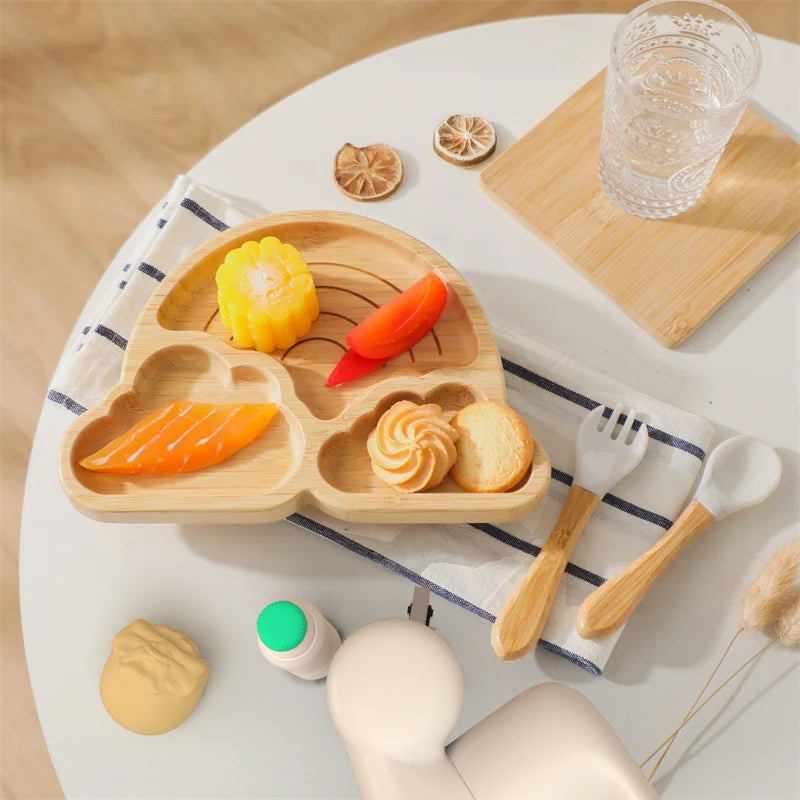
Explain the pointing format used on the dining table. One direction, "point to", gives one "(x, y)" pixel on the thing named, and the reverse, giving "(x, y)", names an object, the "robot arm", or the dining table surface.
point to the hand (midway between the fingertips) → (409, 707)
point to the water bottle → (297, 638)
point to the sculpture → (152, 678)
